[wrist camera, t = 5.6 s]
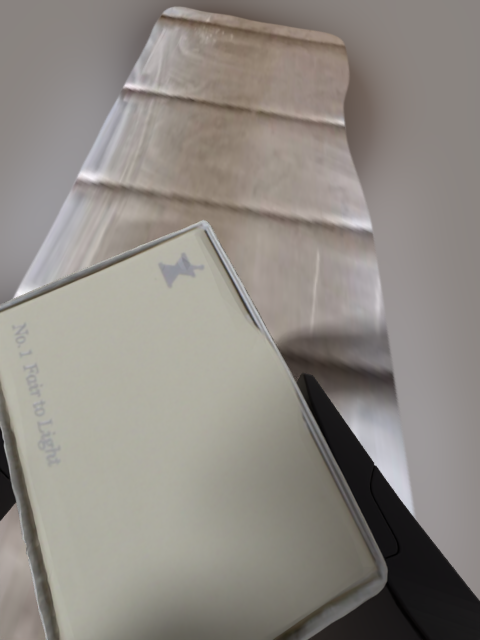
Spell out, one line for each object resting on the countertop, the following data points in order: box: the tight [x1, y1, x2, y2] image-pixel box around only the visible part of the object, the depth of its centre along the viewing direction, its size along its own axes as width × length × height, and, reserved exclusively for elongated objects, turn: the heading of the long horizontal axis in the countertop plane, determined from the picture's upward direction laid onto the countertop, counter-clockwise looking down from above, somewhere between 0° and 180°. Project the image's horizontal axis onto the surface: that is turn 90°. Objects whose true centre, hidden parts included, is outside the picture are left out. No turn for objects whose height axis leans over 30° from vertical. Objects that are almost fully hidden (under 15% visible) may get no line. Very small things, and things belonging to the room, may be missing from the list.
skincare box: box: [0, 220, 388, 640], centre depth 9 cm, size 6×4×12 cm
